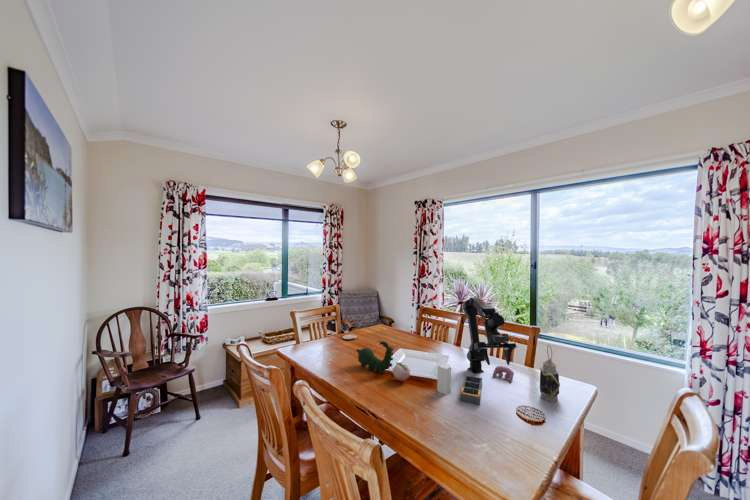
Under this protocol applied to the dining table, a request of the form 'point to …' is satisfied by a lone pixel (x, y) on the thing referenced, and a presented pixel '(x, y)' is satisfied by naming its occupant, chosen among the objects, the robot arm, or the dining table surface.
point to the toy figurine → (375, 358)
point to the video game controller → (506, 370)
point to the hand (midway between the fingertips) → (498, 364)
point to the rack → (471, 390)
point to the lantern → (549, 380)
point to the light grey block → (444, 379)
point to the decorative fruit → (401, 371)
